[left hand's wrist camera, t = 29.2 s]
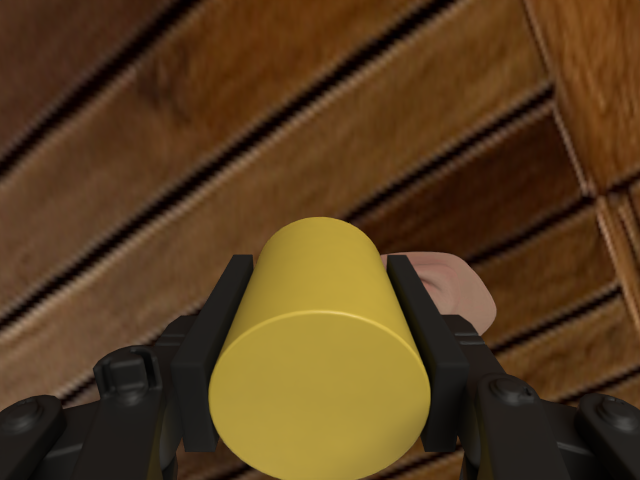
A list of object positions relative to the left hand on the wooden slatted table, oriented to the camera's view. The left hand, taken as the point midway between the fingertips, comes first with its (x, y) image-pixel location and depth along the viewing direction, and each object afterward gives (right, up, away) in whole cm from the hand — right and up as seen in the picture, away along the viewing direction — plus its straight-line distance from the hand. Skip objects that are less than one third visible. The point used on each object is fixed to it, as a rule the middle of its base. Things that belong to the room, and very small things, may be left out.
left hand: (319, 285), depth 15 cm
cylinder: (0, 0, +1) cm, 1 cm away
